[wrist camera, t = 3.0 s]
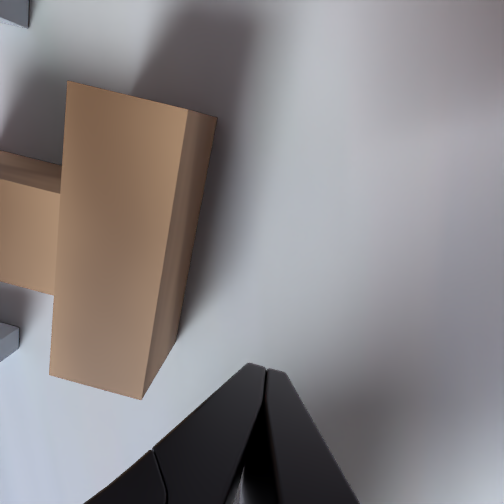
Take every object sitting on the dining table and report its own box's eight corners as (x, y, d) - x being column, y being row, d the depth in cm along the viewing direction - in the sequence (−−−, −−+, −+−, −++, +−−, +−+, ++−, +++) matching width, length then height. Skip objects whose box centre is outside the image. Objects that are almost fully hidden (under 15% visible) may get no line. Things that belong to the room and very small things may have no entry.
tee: (217, 117, 14) (188, 109, 10) (175, 341, 17) (141, 400, 13) (-7, 63, 14) (-117, 36, 10) (-8, 293, 17) (-93, 336, 14)
